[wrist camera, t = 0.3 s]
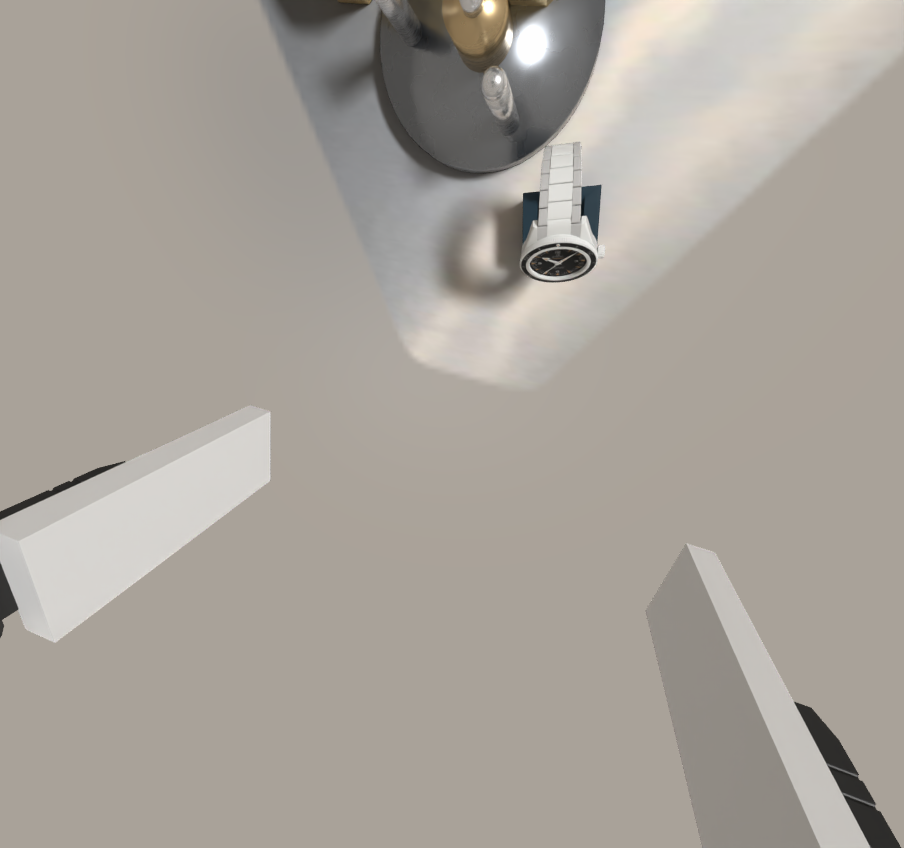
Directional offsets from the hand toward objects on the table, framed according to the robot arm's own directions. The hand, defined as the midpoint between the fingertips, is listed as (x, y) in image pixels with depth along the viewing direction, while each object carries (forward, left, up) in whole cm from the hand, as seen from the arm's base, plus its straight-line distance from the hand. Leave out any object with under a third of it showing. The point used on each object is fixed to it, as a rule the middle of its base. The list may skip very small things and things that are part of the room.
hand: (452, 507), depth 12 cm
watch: (-10, +1, -27) cm, 29 cm away
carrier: (-21, -8, -27) cm, 35 cm away
